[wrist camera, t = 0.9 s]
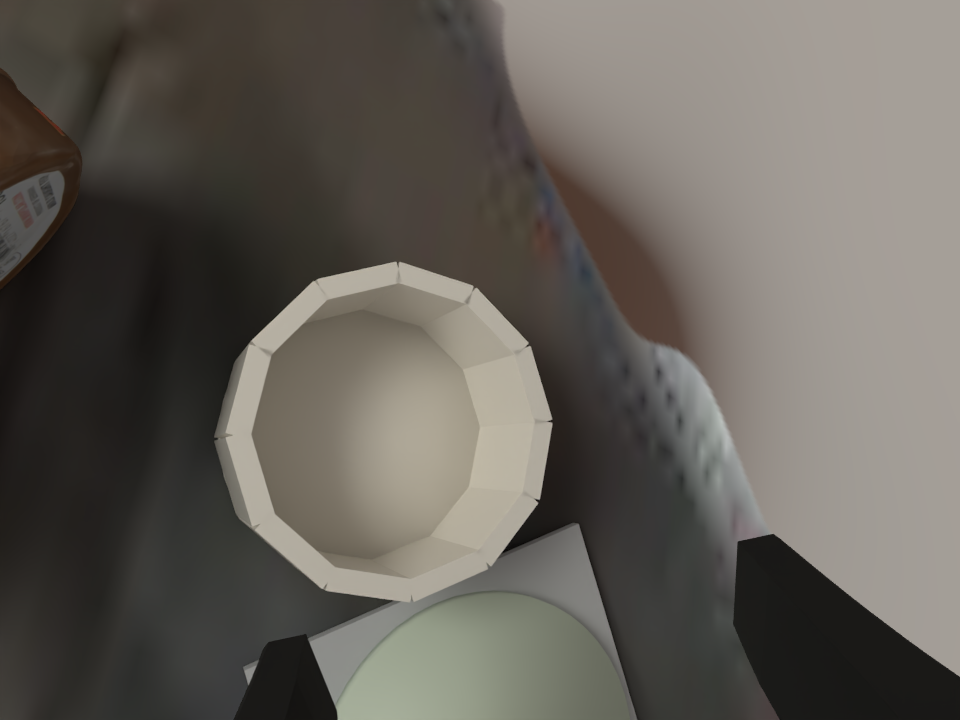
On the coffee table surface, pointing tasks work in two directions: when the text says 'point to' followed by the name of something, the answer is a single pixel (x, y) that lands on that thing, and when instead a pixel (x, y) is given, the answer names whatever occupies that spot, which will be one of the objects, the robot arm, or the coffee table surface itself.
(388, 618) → the mat
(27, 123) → the tin
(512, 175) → the coffee table surface
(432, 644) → the lid
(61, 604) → the coffee table surface
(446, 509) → the bowl
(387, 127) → the coffee table surface
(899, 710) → the robot arm
